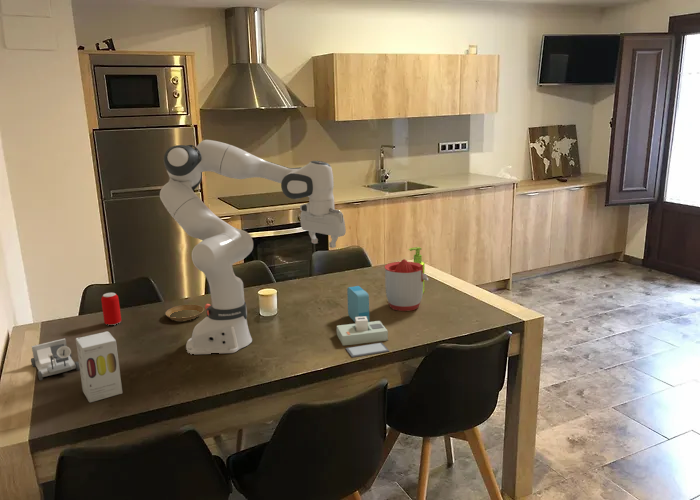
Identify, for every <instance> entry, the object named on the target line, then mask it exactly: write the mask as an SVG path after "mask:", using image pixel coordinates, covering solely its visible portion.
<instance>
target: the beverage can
mask: <svg viewBox="0 0 700 500" xmlns="http://www.w3.org/2000/svg"><path fill="white" fill-rule="evenodd" d="M100 300H101V301H100V302H101V310H102V315H103V322H104V324H105V325H107V324H108V325H107V326H109V325H112V324H113V325H114V326H117V325H119V324H120V323H121V322H122V314H121V306H120V299H119V295H117V293H115V292H106V293H104V294H103V295H102V296H101V298H100ZM118 323H119V324H118ZM116 324H117V325H116Z"/></svg>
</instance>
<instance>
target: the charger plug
mask: <svg viewBox="0 0 700 500" xmlns="http://www.w3.org/2000/svg"><path fill="white" fill-rule="evenodd" d="M354 324H355V331H356V332H361V331H368V320H367V317H366V316H363V317H355V322H354Z"/></svg>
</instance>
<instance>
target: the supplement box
mask: <svg viewBox="0 0 700 500" xmlns="http://www.w3.org/2000/svg"><path fill="white" fill-rule="evenodd" d="M75 344H76V350H77V351H76V352H77V359H78V360H77V361H78V362H79V367H80V370H79V373H80V379H81V388H82V392H83V394H84V396H85V397H86V399H87V401H88V402H89V403H90V404H91V403H93V402H98V401H100V400H103V399H107V398H111V397H114V396H117V395H118V396H119V395H122V394H123V385H122V380H121V371H120V362H119V355H118V346H117V340H116V338H115V337H114V336H113V335H112V334H111V333H110V332H109V331H104V332H99V333H94V334H89V335H86V336H82V337H81V336H80V337H76V338H75Z"/></svg>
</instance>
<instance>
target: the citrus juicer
mask: <svg viewBox="0 0 700 500" xmlns="http://www.w3.org/2000/svg"><path fill="white" fill-rule="evenodd" d="M384 269H385V271H384V272H385V273H384V275H385V279H384V280H385V294H386V300H387V304H389V305H388V306H389V307H390V308H391V309H393V310H394V311H401V312H408V311H409V312H410V311H414V310H417V309H418V308H419V307H420V305H421V301H422V298H423V294H424V293H423V280H424V281H429V277H428V275H427V274H426V273H425V272H424V273H423V265H422V264H419V263H415V262H414V261H408V260H406V259H405V258H403V259H402V260H401V261H394V262H390V263H387V264H385V265H384Z"/></svg>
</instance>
